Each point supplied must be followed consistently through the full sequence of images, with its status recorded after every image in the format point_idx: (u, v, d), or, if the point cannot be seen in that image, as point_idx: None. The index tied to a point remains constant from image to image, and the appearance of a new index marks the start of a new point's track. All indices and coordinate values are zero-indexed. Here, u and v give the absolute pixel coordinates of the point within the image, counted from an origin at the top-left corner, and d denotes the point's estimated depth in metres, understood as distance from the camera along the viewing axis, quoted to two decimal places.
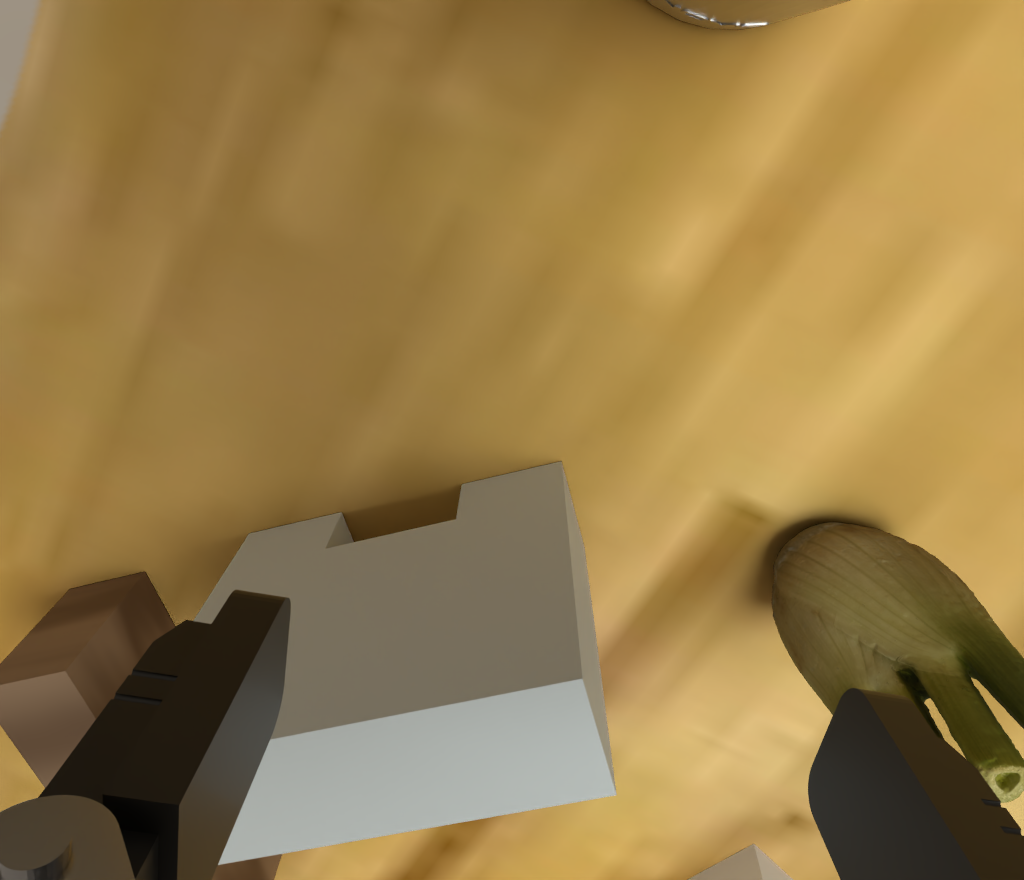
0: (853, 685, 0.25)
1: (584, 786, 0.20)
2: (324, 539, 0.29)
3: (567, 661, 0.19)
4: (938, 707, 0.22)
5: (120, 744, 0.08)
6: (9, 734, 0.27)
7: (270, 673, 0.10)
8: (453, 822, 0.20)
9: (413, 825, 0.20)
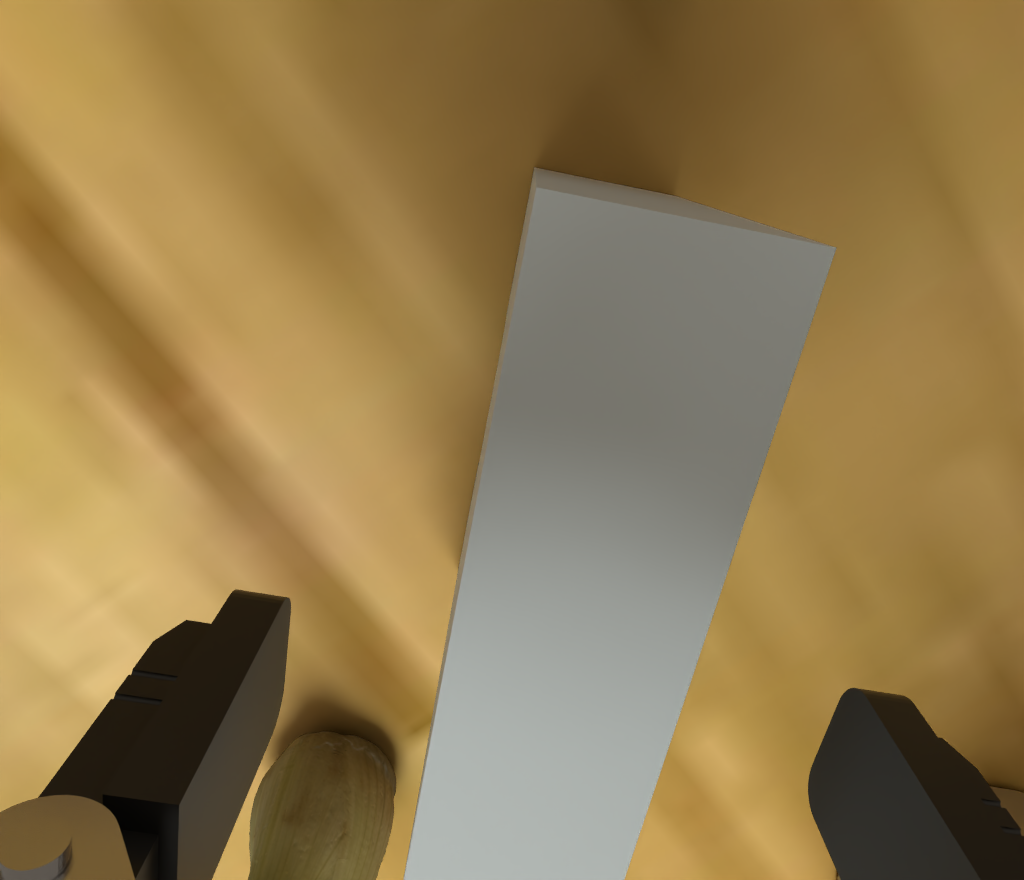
0: None
1: (432, 874, 0.14)
2: None
3: None
4: None
5: (120, 744, 0.08)
6: None
7: (270, 673, 0.10)
8: (436, 711, 0.13)
9: (457, 663, 0.12)
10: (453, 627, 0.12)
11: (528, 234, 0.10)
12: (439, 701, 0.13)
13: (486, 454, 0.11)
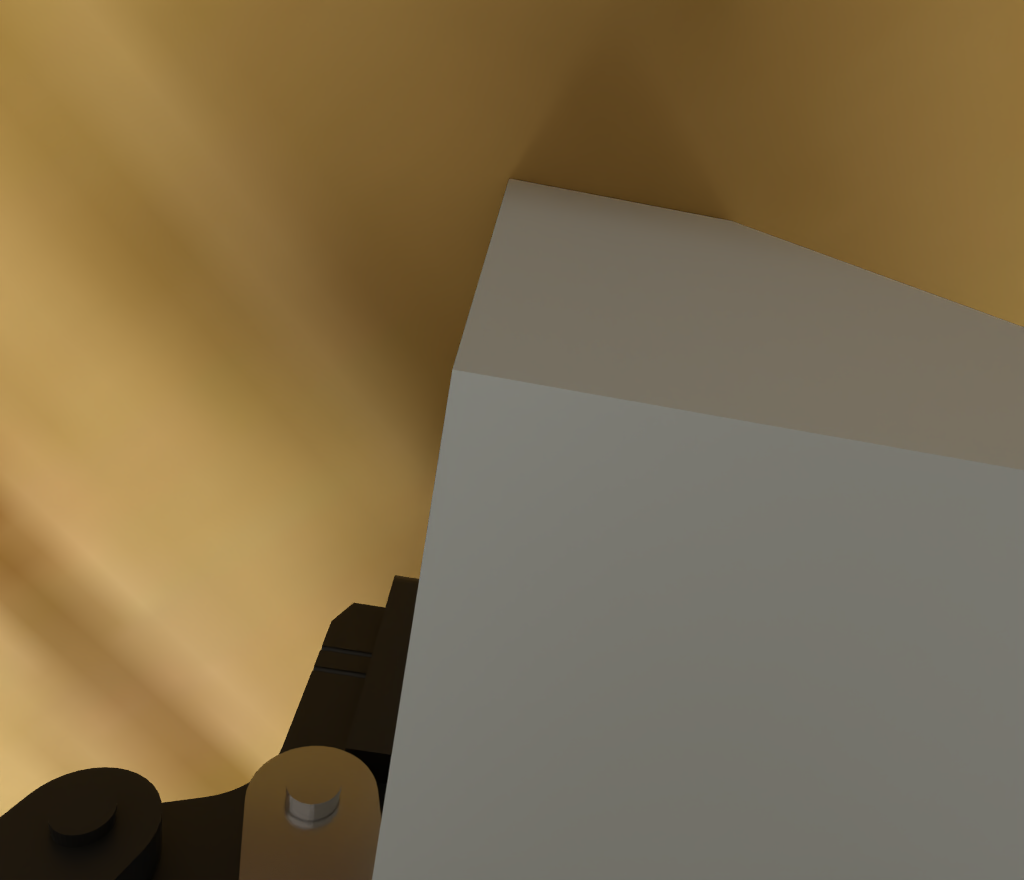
0: None
1: None
2: None
3: None
4: None
5: (333, 709, 0.09)
6: None
7: None
8: None
9: None
10: None
11: (428, 557, 0.02)
12: None
13: None
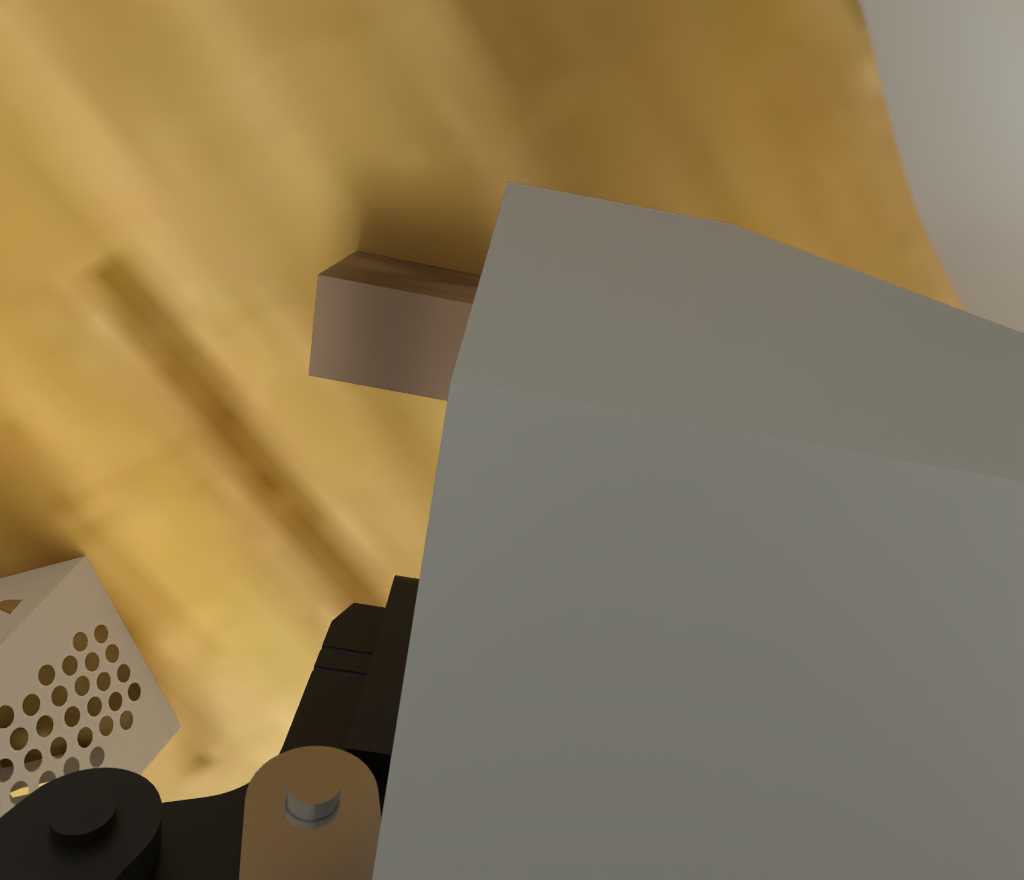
0: None
1: None
2: None
3: None
4: None
5: (333, 709, 0.09)
6: None
7: None
8: None
9: None
10: None
11: (426, 567, 0.02)
12: None
13: None
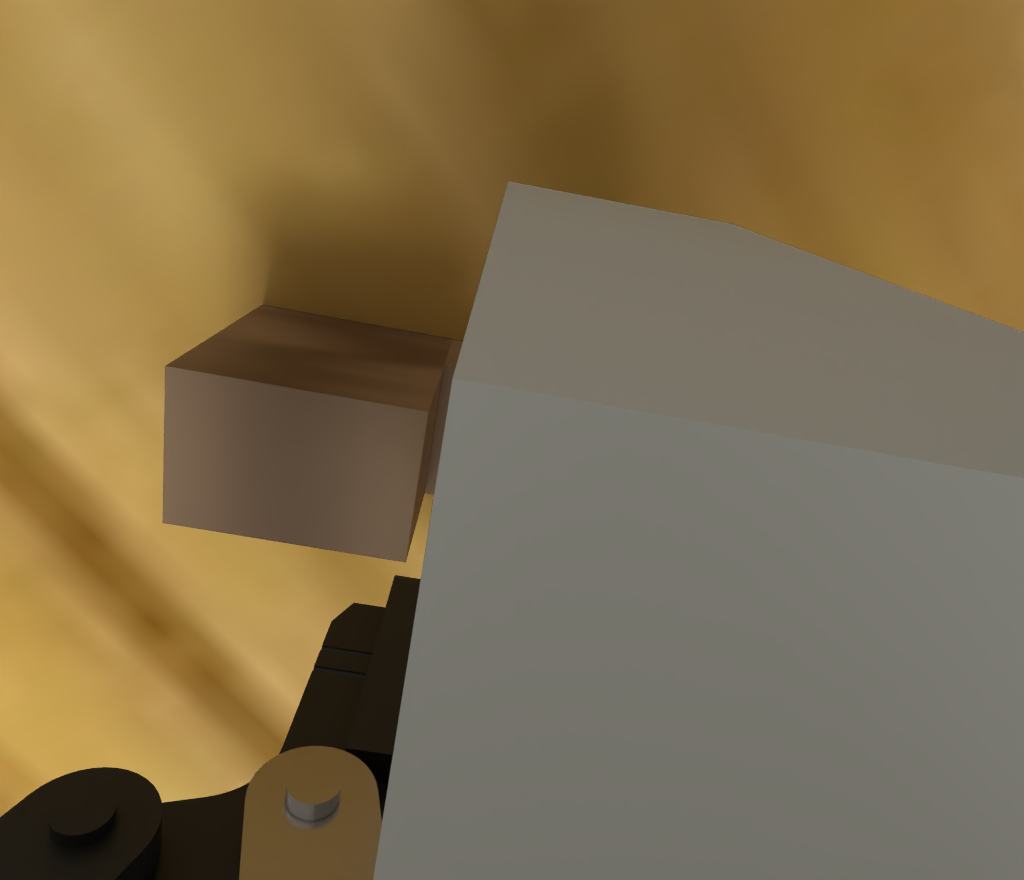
0: None
1: None
2: None
3: None
4: None
5: (333, 708, 0.09)
6: None
7: None
8: None
9: None
10: None
11: (428, 564, 0.02)
12: None
13: None
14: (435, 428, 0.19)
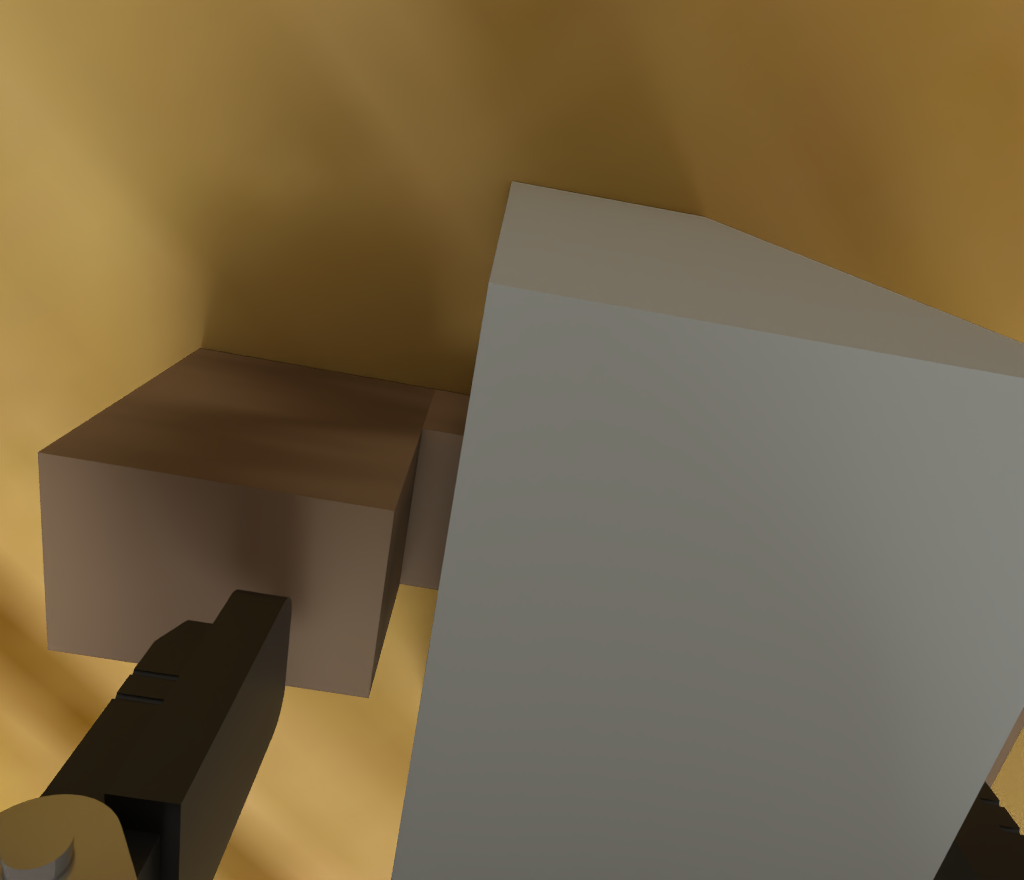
0: None
1: None
2: None
3: None
4: None
5: (122, 744, 0.08)
6: None
7: (271, 673, 0.10)
8: None
9: None
10: None
11: (474, 385, 0.04)
12: None
13: (406, 802, 0.05)
14: (412, 506, 0.15)
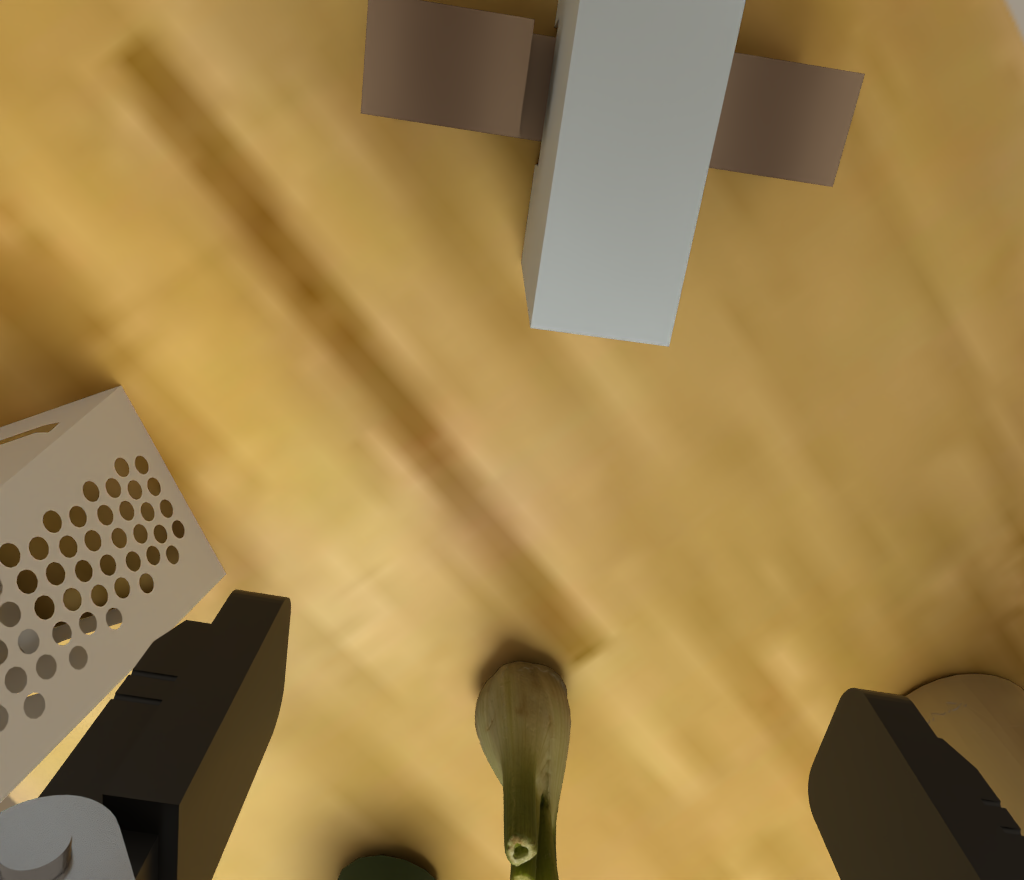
0: (536, 766, 0.34)
1: (552, 304, 0.21)
2: None
3: None
4: (549, 836, 0.33)
5: (120, 744, 0.08)
6: (800, 66, 0.24)
7: (270, 673, 0.10)
8: (556, 161, 0.20)
9: (569, 118, 0.19)
10: (567, 89, 0.19)
11: None
12: (558, 151, 0.20)
13: None
14: None
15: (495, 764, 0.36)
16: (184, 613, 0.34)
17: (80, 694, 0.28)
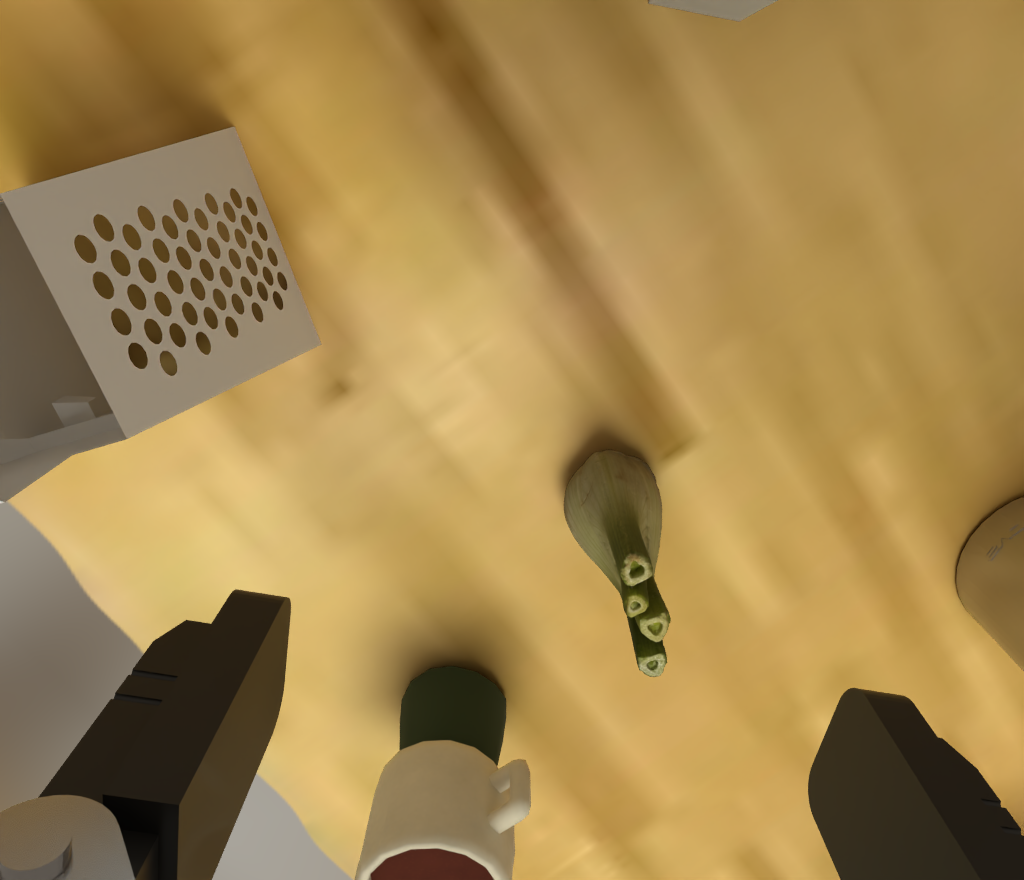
0: (639, 522, 0.34)
1: None
2: None
3: None
4: (654, 583, 0.32)
5: (120, 744, 0.08)
6: None
7: (270, 673, 0.10)
8: None
9: None
10: None
11: None
12: None
13: None
14: None
15: (591, 534, 0.36)
16: (288, 357, 0.34)
17: (205, 376, 0.28)
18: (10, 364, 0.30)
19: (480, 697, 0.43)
